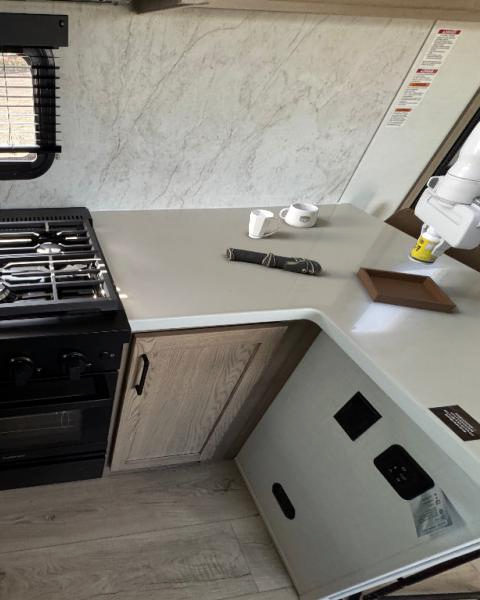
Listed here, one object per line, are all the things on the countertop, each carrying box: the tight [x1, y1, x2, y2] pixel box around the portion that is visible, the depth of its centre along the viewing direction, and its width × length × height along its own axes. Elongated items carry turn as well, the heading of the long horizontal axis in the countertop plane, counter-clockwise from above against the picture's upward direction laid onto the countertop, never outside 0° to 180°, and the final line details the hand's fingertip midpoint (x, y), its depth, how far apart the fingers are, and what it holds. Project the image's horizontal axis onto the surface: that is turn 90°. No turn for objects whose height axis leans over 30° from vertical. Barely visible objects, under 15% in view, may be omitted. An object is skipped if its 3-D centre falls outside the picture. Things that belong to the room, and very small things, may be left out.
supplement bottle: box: [408, 225, 442, 266], centre depth 80 cm, size 5×5×8 cm
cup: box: [248, 209, 282, 240], centre depth 113 cm, size 7×10×8 cm
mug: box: [278, 202, 320, 228], centre depth 123 cm, size 12×10×6 cm
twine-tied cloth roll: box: [225, 247, 323, 274], centre depth 99 cm, size 4×5×25 cm
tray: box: [356, 266, 457, 314], centre depth 88 cm, size 16×14×2 cm
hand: (428, 248), depth 81 cm, fingers closed on supplement bottle, 5 cm apart
